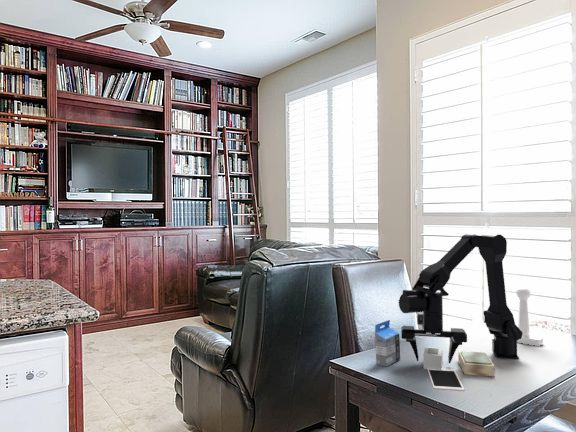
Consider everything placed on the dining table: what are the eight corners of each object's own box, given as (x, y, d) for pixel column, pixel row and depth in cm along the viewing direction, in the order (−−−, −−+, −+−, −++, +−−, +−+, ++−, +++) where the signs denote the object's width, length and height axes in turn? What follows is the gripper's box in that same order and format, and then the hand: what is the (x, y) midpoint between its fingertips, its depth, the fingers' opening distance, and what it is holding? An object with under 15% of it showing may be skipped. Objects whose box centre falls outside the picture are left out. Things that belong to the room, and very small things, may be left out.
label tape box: (386, 367, 129) (386, 326, 129) (375, 364, 132) (374, 324, 132) (400, 360, 136) (400, 321, 136) (389, 357, 139) (388, 319, 139)
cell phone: (454, 370, 127) (454, 368, 127) (465, 392, 111) (465, 389, 111) (426, 369, 128) (426, 367, 128) (433, 390, 113) (433, 387, 113)
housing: (442, 362, 133) (442, 347, 133) (441, 371, 126) (441, 355, 126) (425, 361, 135) (425, 346, 135) (423, 369, 128) (423, 353, 128)
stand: (486, 362, 132) (486, 351, 132) (494, 376, 121) (494, 364, 121) (458, 360, 134) (458, 350, 134) (464, 374, 123) (464, 362, 123)
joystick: (505, 340, 157) (504, 285, 157) (514, 336, 162) (513, 283, 162) (538, 346, 148) (537, 289, 148) (546, 342, 153) (545, 286, 153)
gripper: (461, 306, 136) (462, 355, 136) (400, 304, 141) (401, 351, 141) (467, 314, 125) (467, 367, 125) (401, 311, 130) (401, 363, 130)
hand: (433, 361), depth 131 cm, fingers open, 9 cm apart
